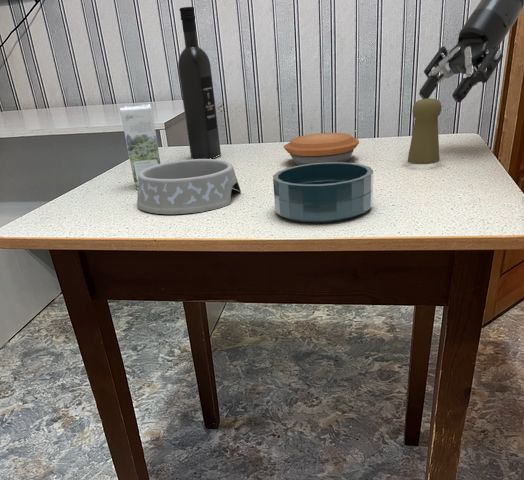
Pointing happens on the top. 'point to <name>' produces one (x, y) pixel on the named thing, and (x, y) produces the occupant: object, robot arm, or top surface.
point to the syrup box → (140, 138)
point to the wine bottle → (197, 93)
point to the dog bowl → (186, 186)
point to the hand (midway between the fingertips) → (438, 98)
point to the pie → (321, 148)
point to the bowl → (323, 191)
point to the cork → (425, 132)
